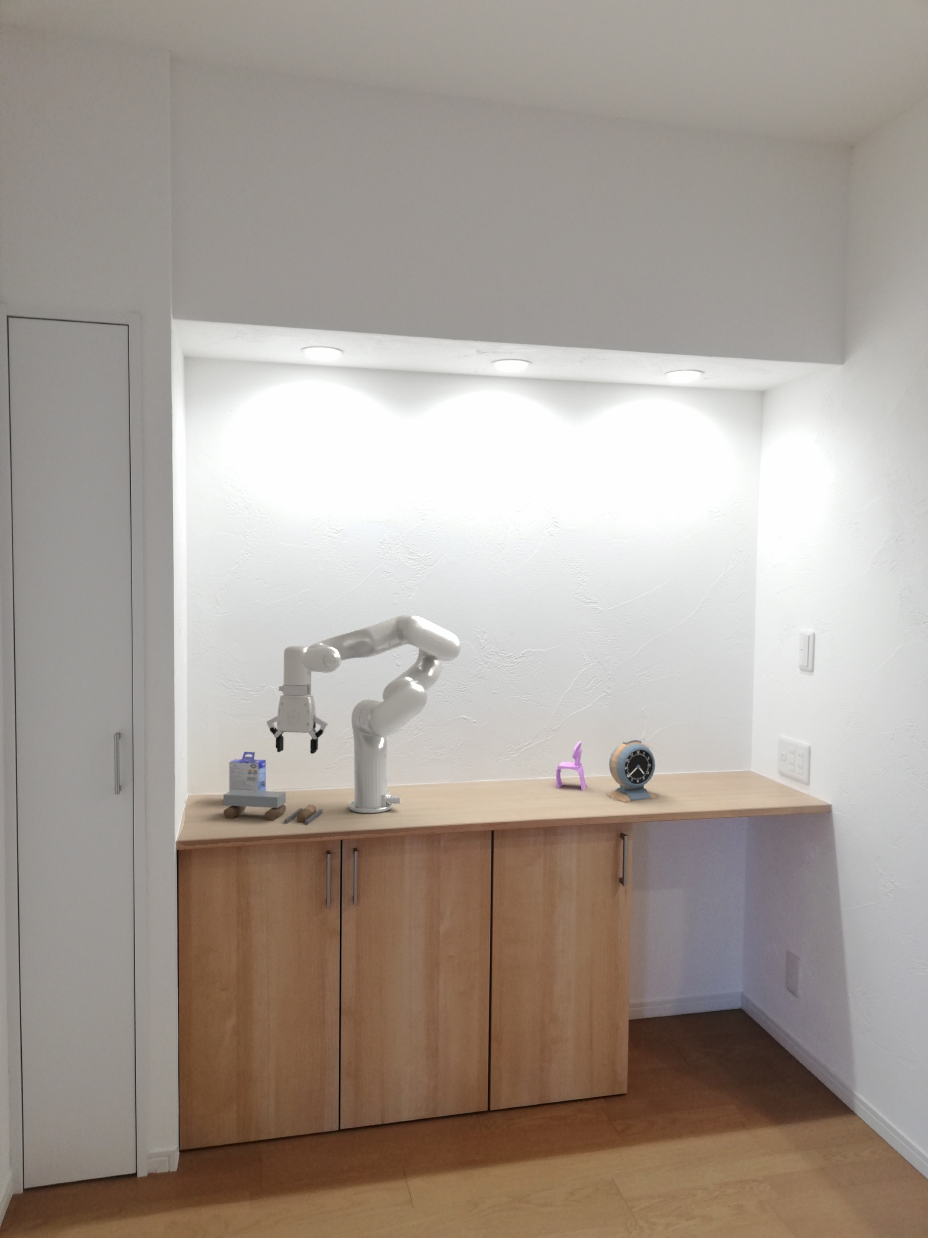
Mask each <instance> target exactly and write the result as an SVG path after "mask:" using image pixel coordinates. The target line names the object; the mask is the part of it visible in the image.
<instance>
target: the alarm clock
mask: <svg viewBox="0 0 928 1238" xmlns="http://www.w3.org/2000/svg"><path fill="white" fill-rule="evenodd" d="M608 768H609V772H610V774H611V777H612V778H613V780H614V781H615V782H616V783H617V784H618V785H619V787H617V788H616V789H615V790H613V791H611V792H608V793H606V794H605V795H606V796H607V797H609V798H612V799H615V800H617V801H619V802H623V803H631V802H640V801H645V800H646V801H647V800H653V799H659V797H658V796H656V795H655V794H653V793H652V792H650V791H648V790H647V788H645V785H646V784H648V782H650V780H651V779H652V778H653V776H654V773H655V770H656V761H655V757H654V754H653V752H652V751H651V749H650V748H649V747H648V746H647V745H646V744H644V743H642V740H639V739H636V738H628V739H626V740H624V741H622V743H620V744H619V745H617V746H616V747H615V748H614V750H613V751H612V753H611V754H610V758H609V763H608Z"/></svg>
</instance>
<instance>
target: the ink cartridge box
mask: <svg viewBox="0 0 928 1238" xmlns="http://www.w3.org/2000/svg"><path fill="white" fill-rule="evenodd" d="M246 755H251V756H246ZM255 755H256V752H255V751H244V752H243V755H242V758H241V759H240V758H236V759H233V760H231V761H229V762H228V766H229V767H228V768H229V769H228V774H229V775H228V782H229V783H228V790H229V791H231V790H250V791H267V789H266V787H267V785H266V784H267V780H266V779H267V768H266V767H267V766H266V765H267V762H266V761H267V760H266V759H255ZM229 791H228V792H229Z"/></svg>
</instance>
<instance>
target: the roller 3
mask: <svg viewBox="0 0 928 1238" xmlns="http://www.w3.org/2000/svg"><path fill="white" fill-rule="evenodd" d="M316 812H317V807H316V806H315V805H314V804H308V805H307V806H305V808H303V810H302V811H300V812H299V813H298V814H297V815H296V817H295V818H296V820H297V822H298V823H305V820H307V819H308V818H309V817H310V816H312V815H313V814H314V813H316Z"/></svg>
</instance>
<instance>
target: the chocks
mask: <svg viewBox="0 0 928 1238" xmlns="http://www.w3.org/2000/svg"><path fill="white" fill-rule="evenodd" d="M303 809H304V808H300V807H299V808H298V809H297V810H296V811H294V812H293V813H291V814H289V816H287V817H286V818H284V820H283V823H284V824H288V823H290V822H291V821H293V819H295V818H296V815H297V814H298V813H299V812H300V811H302V810H303ZM323 810H324V809H322V808H321V809H318V810H316V813H314V814H313V815H312V816H310V817H309V818H308V819H307V820H305V822H304V824H305V825H309V824H311V822H313V821H314V820H315V819H317V818H318V817H320V816H321V815H322V814H323Z"/></svg>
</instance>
